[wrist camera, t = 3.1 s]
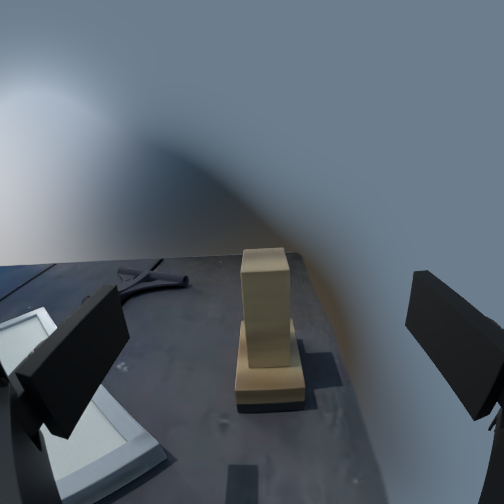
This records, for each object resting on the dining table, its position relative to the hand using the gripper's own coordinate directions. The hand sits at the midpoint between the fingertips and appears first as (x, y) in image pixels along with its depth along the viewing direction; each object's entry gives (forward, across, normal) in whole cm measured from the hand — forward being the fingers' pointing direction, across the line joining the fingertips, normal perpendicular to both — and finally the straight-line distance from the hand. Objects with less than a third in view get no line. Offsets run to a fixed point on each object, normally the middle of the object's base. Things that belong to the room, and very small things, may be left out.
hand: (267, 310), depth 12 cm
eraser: (+10, 0, -12) cm, 15 cm away
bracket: (+26, -21, -12) cm, 35 cm away
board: (-3, -29, -12) cm, 31 cm away
